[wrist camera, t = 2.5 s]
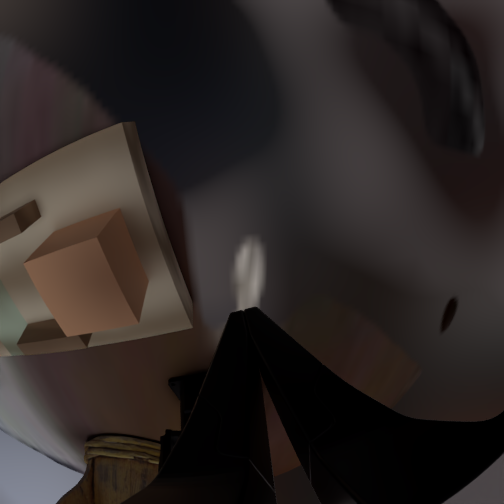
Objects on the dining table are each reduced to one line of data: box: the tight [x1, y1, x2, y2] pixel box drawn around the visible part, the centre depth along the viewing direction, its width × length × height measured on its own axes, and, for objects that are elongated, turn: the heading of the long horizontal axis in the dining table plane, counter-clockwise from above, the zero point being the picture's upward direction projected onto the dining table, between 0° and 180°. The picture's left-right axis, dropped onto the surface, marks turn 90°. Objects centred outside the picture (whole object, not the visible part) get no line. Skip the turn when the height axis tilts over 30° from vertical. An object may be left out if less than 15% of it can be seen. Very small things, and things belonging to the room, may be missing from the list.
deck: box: [0, 122, 193, 357], centre depth 15 cm, size 14×28×6 cm, turn 100°
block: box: [23, 208, 149, 337], centre depth 13 cm, size 5×5×4 cm
